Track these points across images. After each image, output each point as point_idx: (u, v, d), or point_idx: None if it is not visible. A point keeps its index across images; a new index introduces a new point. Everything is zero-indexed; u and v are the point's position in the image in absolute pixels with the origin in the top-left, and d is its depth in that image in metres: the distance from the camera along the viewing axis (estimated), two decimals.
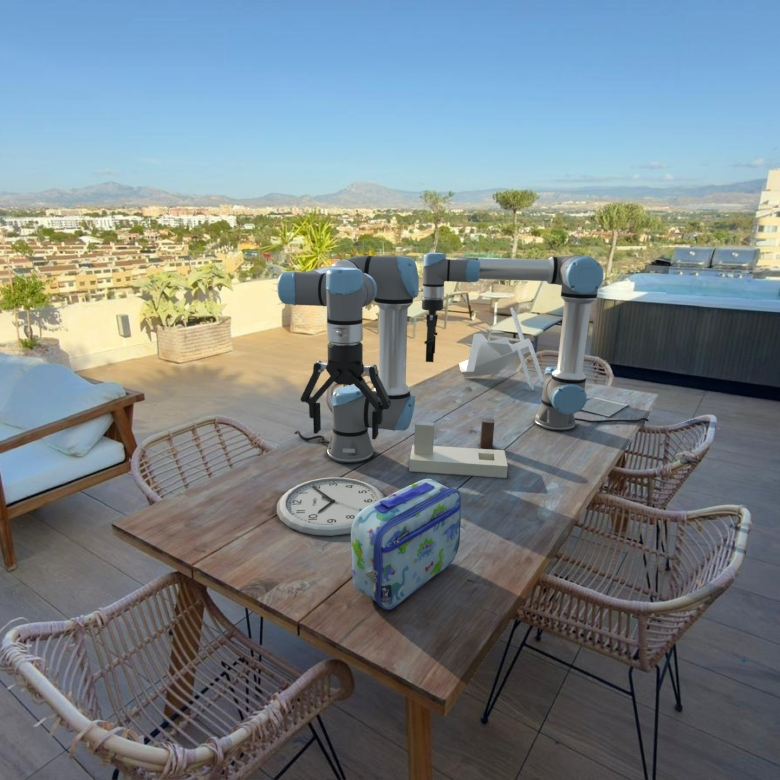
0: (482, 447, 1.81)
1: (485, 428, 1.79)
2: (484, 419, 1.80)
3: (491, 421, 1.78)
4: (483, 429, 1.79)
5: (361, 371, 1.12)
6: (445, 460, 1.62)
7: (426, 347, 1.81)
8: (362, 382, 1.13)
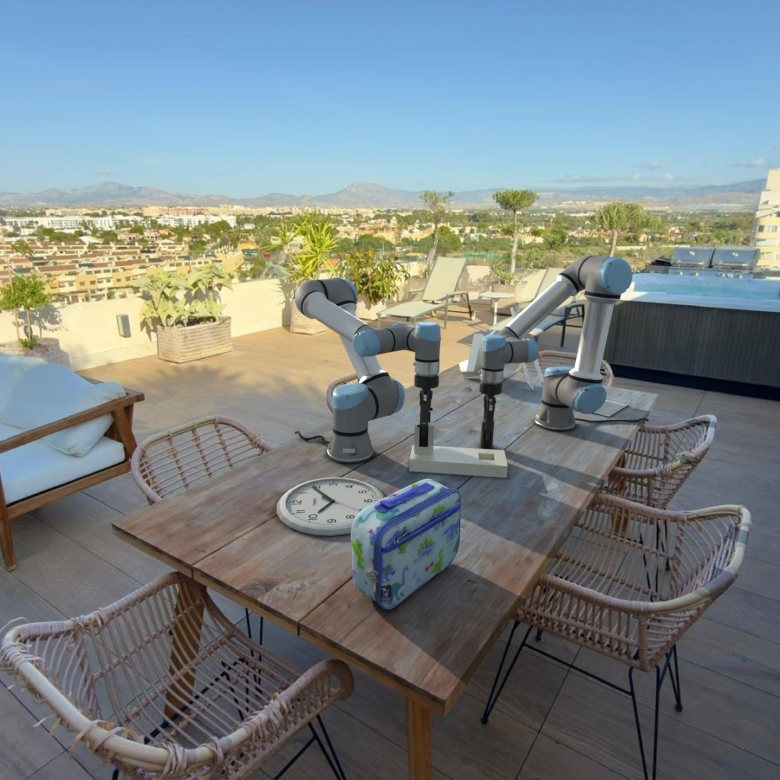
0: (482, 447, 1.81)
1: None
2: (484, 419, 1.80)
3: None
4: None
5: None
6: (445, 460, 1.62)
7: (484, 434, 1.78)
8: None
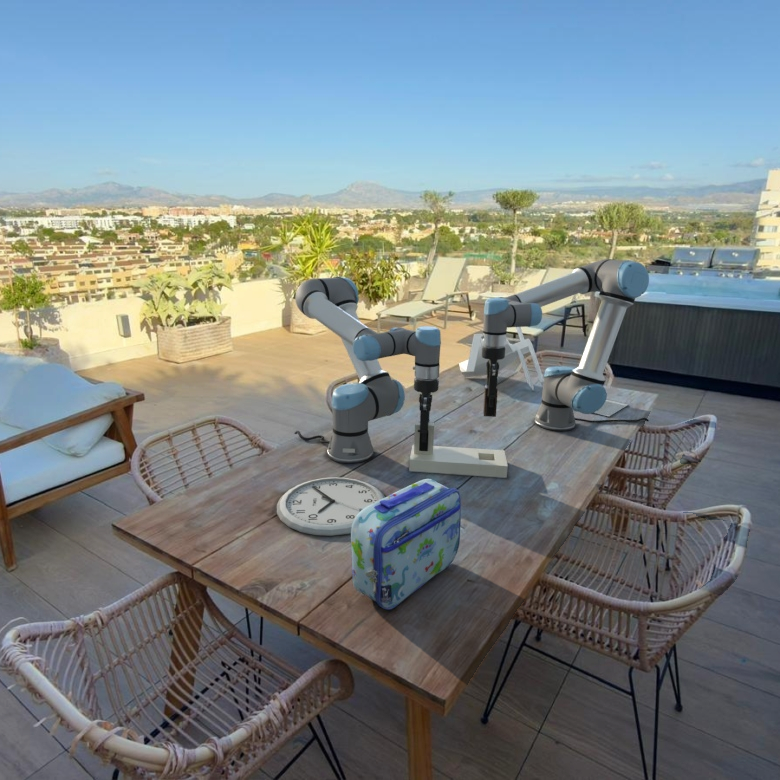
0: (485, 414, 1.77)
1: None
2: (487, 386, 1.77)
3: None
4: None
5: (421, 401, 1.59)
6: (445, 460, 1.62)
7: (487, 401, 1.75)
8: None
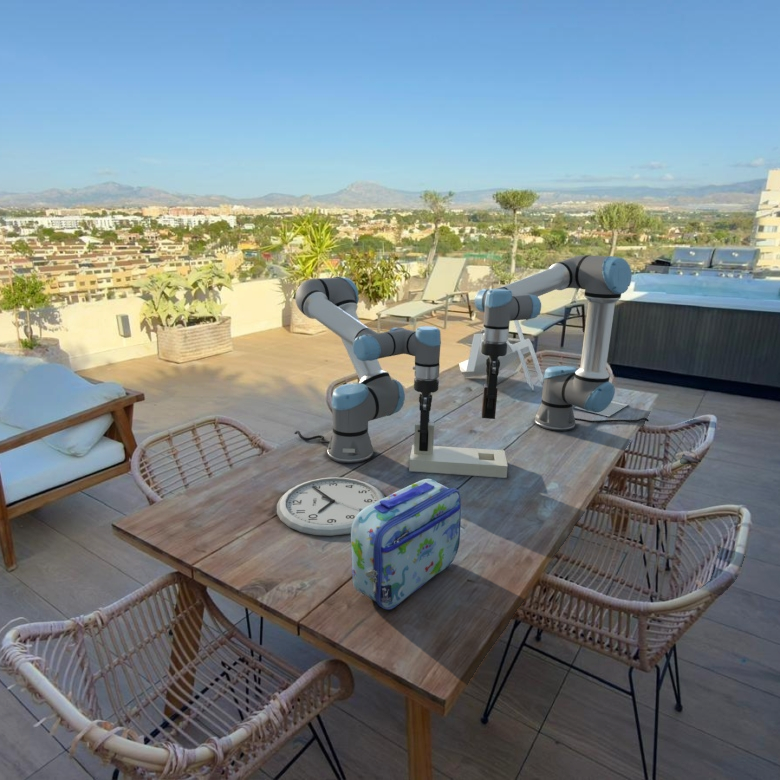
0: None
1: None
2: (486, 385, 1.62)
3: None
4: (485, 395, 1.60)
5: (421, 401, 1.59)
6: (445, 460, 1.62)
7: (486, 401, 1.60)
8: None
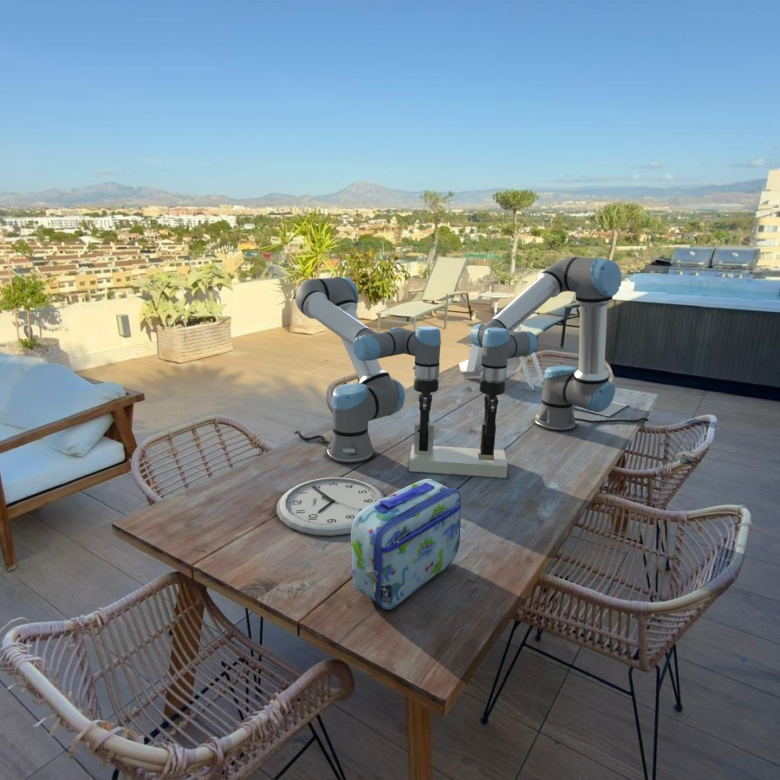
0: (482, 453, 1.63)
1: None
2: (484, 422, 1.63)
3: None
4: None
5: (421, 401, 1.59)
6: (445, 460, 1.62)
7: (484, 438, 1.61)
8: None
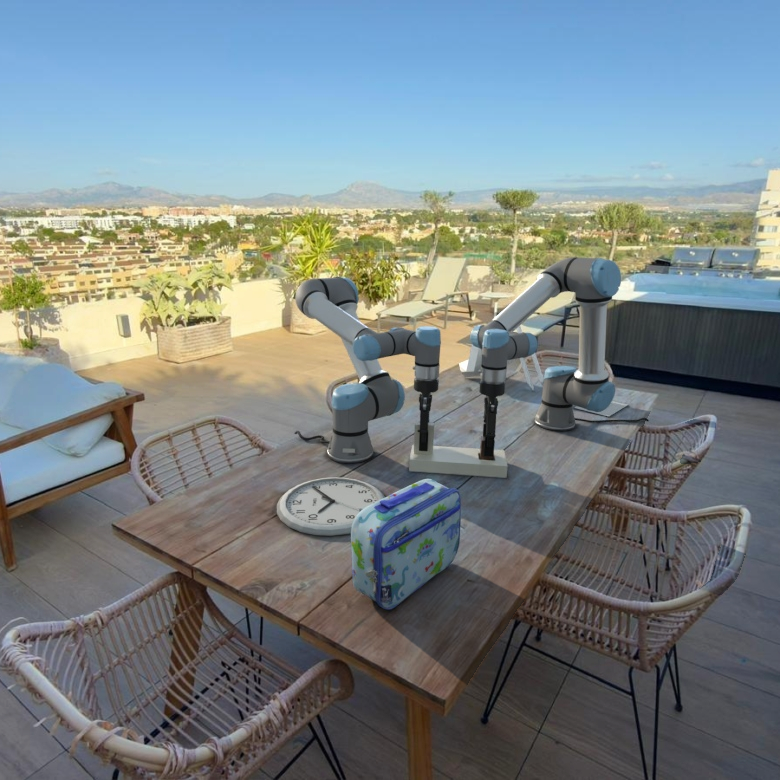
0: None
1: None
2: (483, 437, 1.65)
3: None
4: (482, 448, 1.63)
5: (421, 401, 1.59)
6: (445, 460, 1.62)
7: (485, 440, 1.58)
8: None
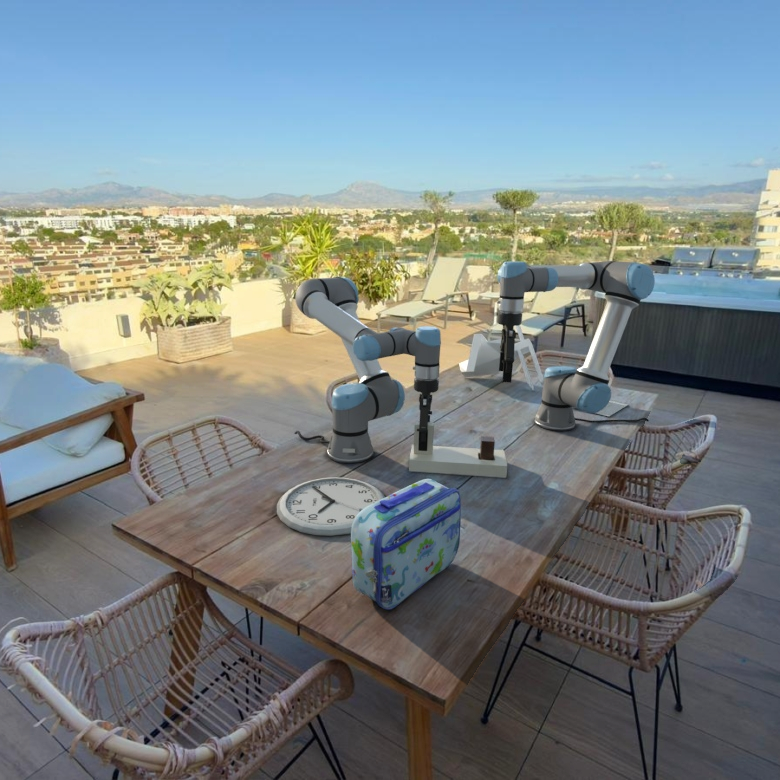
0: None
1: (484, 447, 1.63)
2: (483, 438, 1.64)
3: (491, 440, 1.63)
4: (482, 449, 1.63)
5: None
6: (444, 460, 1.62)
7: (504, 366, 1.63)
8: None
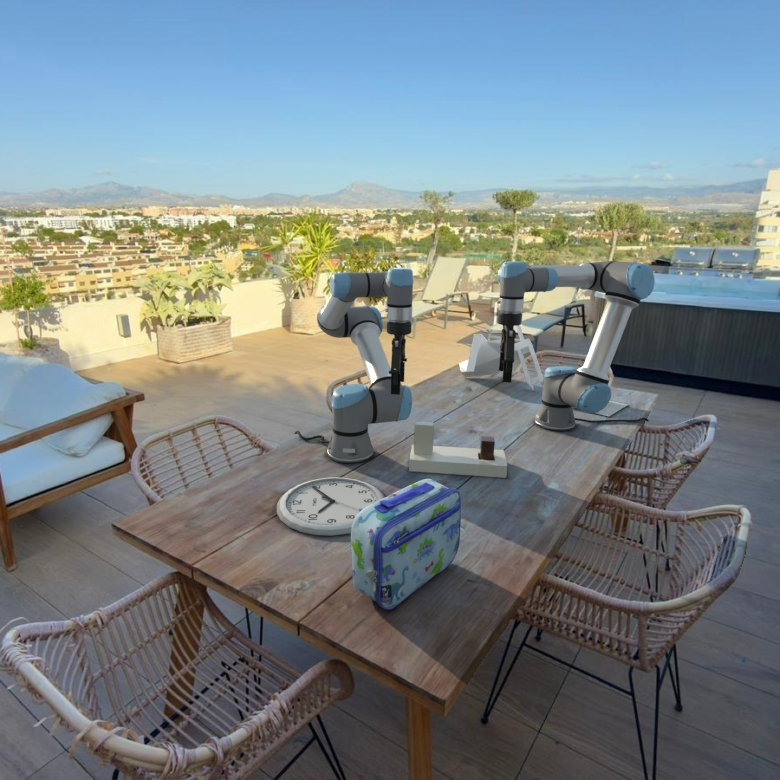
0: None
1: (484, 447, 1.63)
2: (483, 438, 1.64)
3: (491, 440, 1.63)
4: (482, 449, 1.63)
5: None
6: (444, 460, 1.62)
7: (504, 366, 1.63)
8: None
